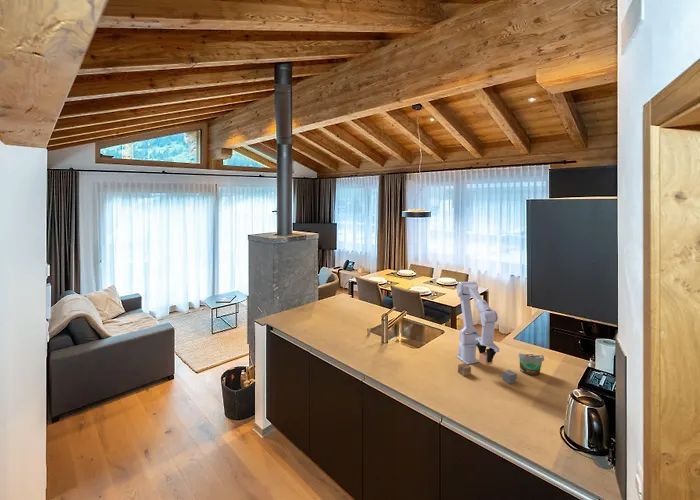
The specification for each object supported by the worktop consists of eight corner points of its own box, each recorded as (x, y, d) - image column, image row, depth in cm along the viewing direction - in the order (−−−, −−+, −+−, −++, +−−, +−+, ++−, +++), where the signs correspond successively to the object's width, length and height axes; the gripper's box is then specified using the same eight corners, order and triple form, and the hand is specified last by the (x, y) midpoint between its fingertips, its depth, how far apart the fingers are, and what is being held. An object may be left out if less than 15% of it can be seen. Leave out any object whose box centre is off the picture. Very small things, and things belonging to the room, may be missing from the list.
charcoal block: (502, 379, 176) (502, 371, 175) (509, 378, 177) (509, 369, 177) (509, 384, 172) (509, 375, 171) (516, 382, 173) (516, 373, 172)
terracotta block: (479, 361, 179) (479, 353, 178) (486, 360, 180) (486, 351, 180) (485, 365, 175) (486, 357, 174) (492, 364, 176) (493, 355, 176)
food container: (520, 376, 179) (522, 357, 177) (516, 370, 185) (518, 352, 183) (546, 378, 177) (548, 359, 176) (541, 372, 183) (543, 353, 182)
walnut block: (457, 372, 183) (458, 364, 182) (464, 370, 184) (465, 362, 184) (463, 376, 179) (464, 368, 178) (470, 374, 180) (471, 366, 179)
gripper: (471, 330, 180) (469, 354, 183) (492, 341, 167) (490, 367, 169) (482, 328, 183) (480, 352, 185) (503, 338, 170) (501, 365, 172)
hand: (485, 359), depth 177 cm, fingers closed on terracotta block, 4 cm apart
